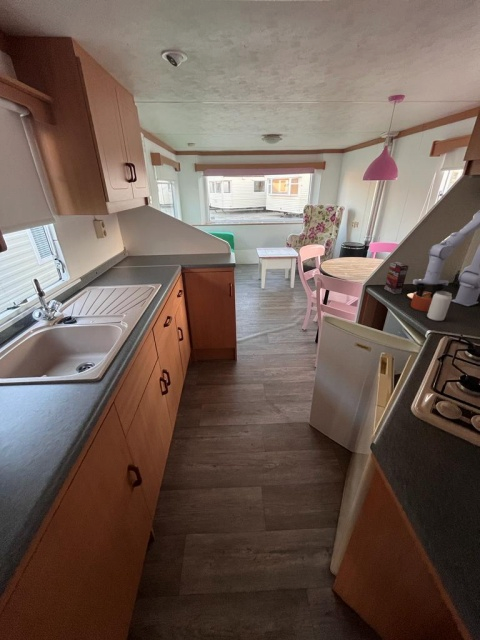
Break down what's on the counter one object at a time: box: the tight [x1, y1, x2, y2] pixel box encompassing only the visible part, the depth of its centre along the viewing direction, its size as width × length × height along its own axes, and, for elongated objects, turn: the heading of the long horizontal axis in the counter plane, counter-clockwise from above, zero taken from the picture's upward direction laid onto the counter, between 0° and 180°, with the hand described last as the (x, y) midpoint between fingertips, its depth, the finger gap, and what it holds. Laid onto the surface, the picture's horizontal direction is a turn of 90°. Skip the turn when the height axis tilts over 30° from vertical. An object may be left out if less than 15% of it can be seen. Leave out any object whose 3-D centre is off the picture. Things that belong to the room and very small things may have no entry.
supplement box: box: [383, 261, 409, 295], centre depth 147 cm, size 9×5×16 cm, turn 10°
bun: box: [422, 293, 432, 299], centre depth 128 cm, size 5×5×4 cm
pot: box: [410, 291, 432, 313], centre depth 129 cm, size 10×10×6 cm
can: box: [426, 290, 453, 322], centre depth 116 cm, size 6×6×12 cm
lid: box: [407, 290, 425, 300], centre depth 139 cm, size 11×11×5 cm
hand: (425, 298), depth 128 cm, fingers closed on bun, 5 cm apart
